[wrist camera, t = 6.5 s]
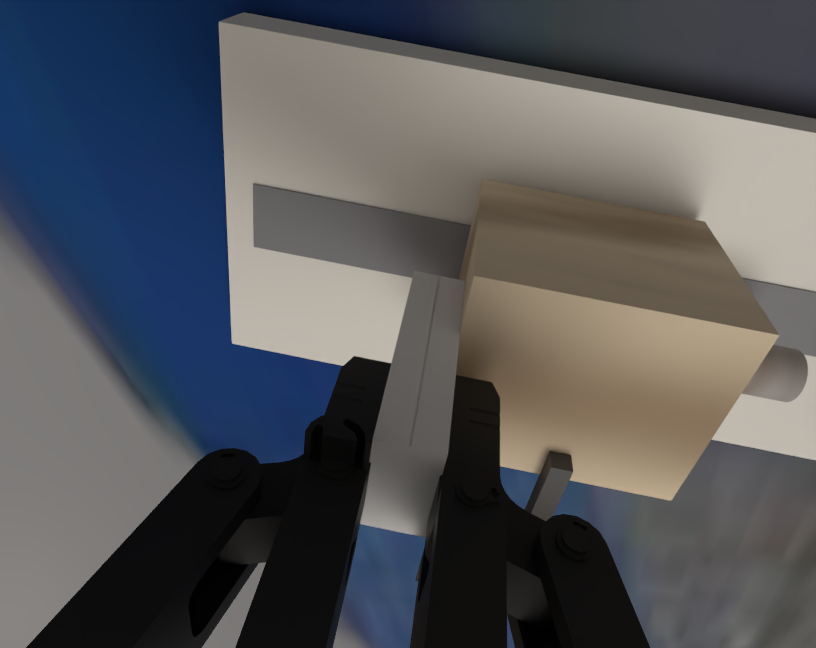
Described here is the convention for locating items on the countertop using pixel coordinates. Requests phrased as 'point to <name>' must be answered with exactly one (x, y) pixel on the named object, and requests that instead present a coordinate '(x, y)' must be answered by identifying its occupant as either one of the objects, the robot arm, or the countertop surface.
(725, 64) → the countertop surface
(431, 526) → the robot arm
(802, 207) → the bench
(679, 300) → the gauge carriage
